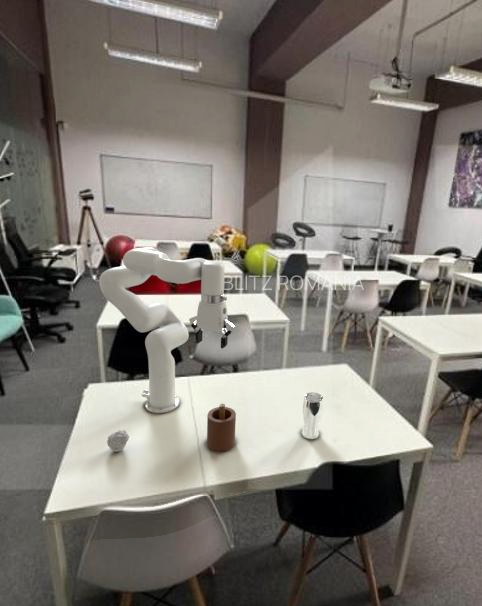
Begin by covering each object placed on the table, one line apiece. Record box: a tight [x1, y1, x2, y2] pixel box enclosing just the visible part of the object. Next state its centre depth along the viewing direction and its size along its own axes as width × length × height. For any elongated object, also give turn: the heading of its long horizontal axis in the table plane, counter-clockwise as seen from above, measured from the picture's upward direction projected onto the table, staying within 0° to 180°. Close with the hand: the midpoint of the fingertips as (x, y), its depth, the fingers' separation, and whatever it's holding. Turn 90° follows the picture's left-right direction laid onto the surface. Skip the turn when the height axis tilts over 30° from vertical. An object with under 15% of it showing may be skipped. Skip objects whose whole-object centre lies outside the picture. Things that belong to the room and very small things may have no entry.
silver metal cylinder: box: [301, 392, 324, 440], centre depth 135 cm, size 7×7×15 cm
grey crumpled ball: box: [106, 429, 130, 453], centre depth 121 cm, size 6×7×7 cm
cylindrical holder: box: [206, 406, 237, 453], centre depth 127 cm, size 9×9×11 cm
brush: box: [219, 403, 226, 420], centre depth 127 cm, size 4×4×14 cm
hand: (211, 344), depth 133 cm, fingers open, 9 cm apart
